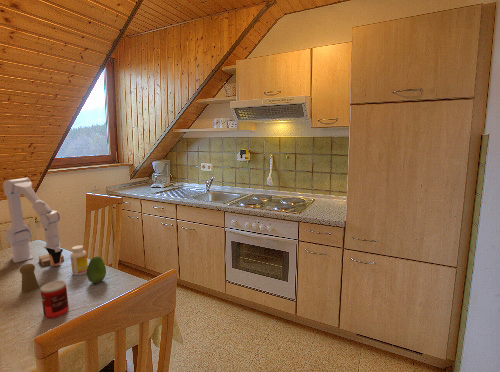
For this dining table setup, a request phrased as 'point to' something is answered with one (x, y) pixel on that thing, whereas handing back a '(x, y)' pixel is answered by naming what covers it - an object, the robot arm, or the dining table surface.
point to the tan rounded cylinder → (53, 261)
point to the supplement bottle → (78, 260)
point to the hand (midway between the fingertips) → (55, 261)
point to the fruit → (96, 270)
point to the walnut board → (47, 259)
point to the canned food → (54, 299)
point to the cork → (28, 278)
